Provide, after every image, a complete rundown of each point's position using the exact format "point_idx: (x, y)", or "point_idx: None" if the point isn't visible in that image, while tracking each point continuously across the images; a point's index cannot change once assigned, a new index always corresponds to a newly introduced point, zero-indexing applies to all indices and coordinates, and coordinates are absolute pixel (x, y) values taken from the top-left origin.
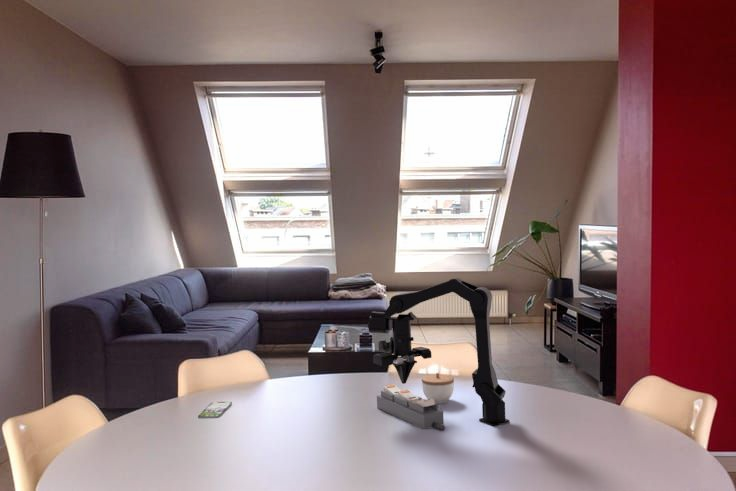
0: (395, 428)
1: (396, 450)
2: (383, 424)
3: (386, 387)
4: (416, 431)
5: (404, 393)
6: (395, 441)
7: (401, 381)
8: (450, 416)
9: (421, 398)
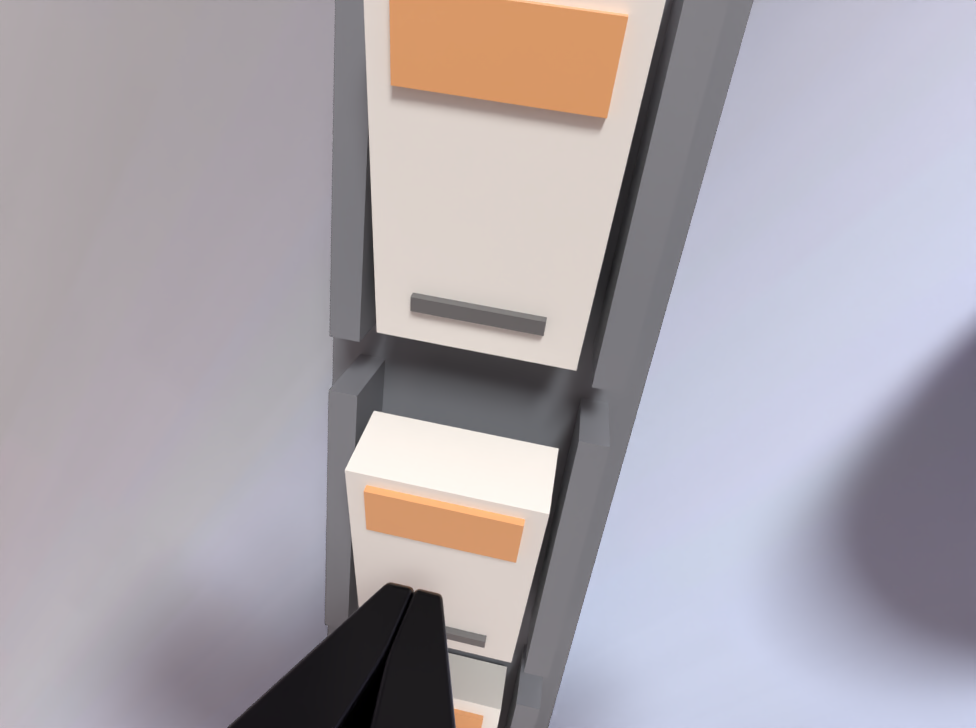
0: (210, 530)
1: (56, 713)
2: (175, 409)
3: (380, 41)
4: (297, 653)
5: (409, 540)
6: (103, 652)
7: (363, 615)
8: (730, 669)
9: (540, 671)
